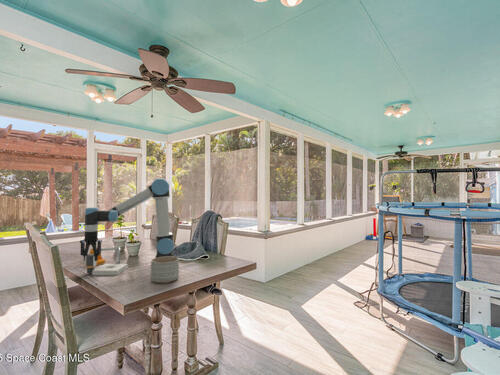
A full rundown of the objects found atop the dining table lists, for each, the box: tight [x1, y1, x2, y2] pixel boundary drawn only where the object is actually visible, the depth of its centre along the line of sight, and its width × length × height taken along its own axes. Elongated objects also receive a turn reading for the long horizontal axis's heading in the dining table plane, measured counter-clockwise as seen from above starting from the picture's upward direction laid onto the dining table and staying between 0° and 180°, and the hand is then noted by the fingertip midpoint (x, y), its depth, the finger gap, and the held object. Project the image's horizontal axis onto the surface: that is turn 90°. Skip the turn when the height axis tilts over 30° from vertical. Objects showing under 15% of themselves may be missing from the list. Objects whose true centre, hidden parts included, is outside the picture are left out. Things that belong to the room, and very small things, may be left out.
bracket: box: [88, 247, 106, 266], centre depth 198 cm, size 11×7×12 cm, turn 145°
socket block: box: [91, 263, 129, 276], centre depth 181 cm, size 16×16×3 cm
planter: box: [150, 255, 180, 284], centre depth 165 cm, size 16×16×13 cm
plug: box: [85, 253, 96, 274], centre depth 175 cm, size 5×5×12 cm
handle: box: [101, 246, 121, 264], centre depth 188 cm, size 2×16×14 cm, turn 115°
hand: (90, 265), depth 175 cm, fingers closed on plug, 5 cm apart
